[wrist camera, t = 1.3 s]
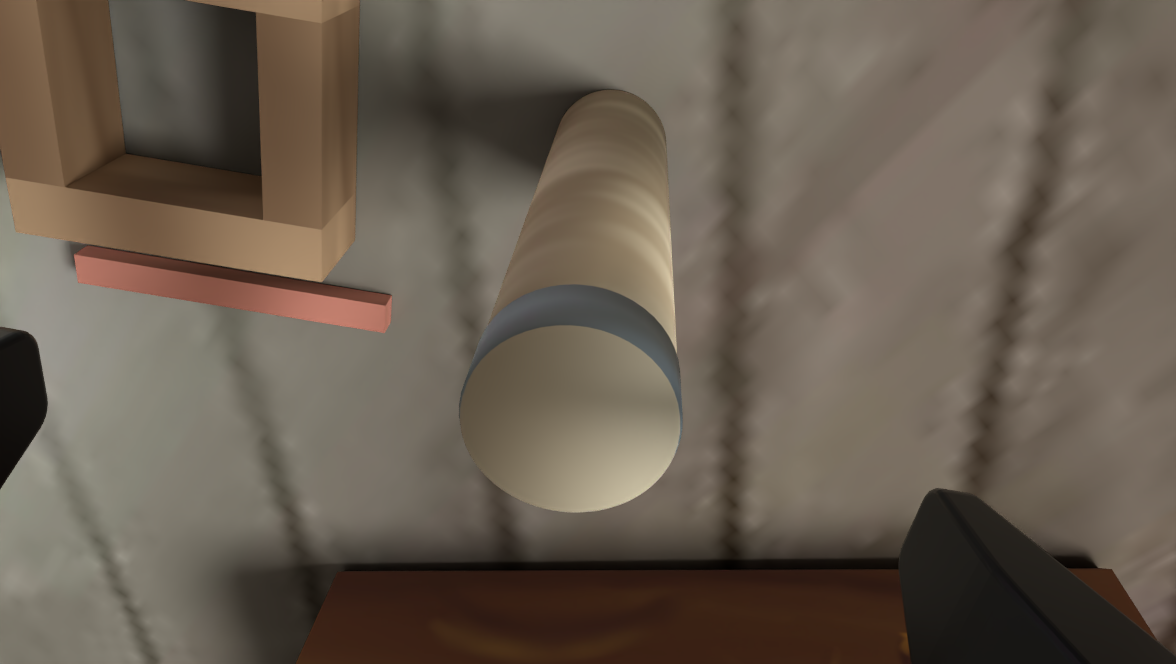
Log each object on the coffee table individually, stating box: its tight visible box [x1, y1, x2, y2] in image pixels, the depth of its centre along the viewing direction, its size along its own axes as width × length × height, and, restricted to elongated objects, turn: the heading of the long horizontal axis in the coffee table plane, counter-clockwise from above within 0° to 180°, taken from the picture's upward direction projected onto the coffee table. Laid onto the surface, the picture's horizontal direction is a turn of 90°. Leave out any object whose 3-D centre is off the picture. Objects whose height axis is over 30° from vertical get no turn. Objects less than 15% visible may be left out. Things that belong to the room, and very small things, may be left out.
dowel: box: [459, 90, 682, 512], centre depth 15 cm, size 3×3×12 cm
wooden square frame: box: [0, 0, 392, 333], centre depth 19 cm, size 8×9×2 cm
